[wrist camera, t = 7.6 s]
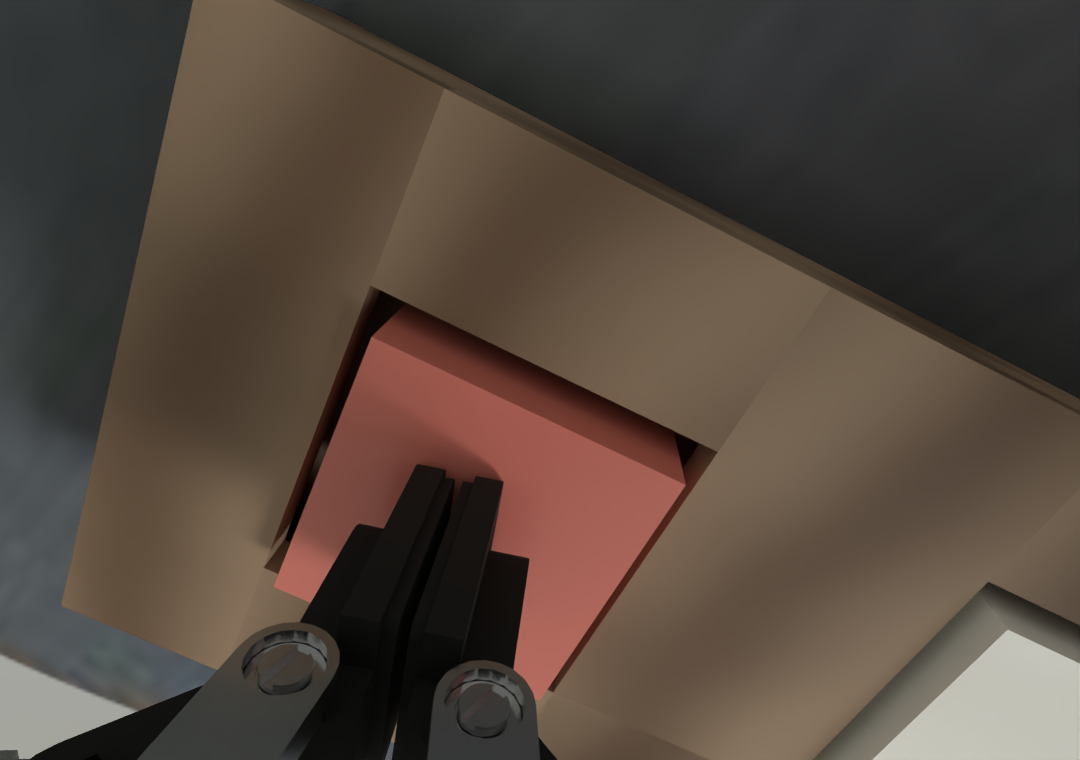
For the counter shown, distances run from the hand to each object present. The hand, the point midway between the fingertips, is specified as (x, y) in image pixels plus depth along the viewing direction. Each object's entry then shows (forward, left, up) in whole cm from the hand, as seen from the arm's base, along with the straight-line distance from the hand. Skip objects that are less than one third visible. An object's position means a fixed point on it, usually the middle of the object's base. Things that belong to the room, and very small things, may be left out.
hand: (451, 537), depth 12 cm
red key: (0, 0, -3) cm, 3 cm away
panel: (-7, 0, -6) cm, 9 cm away
